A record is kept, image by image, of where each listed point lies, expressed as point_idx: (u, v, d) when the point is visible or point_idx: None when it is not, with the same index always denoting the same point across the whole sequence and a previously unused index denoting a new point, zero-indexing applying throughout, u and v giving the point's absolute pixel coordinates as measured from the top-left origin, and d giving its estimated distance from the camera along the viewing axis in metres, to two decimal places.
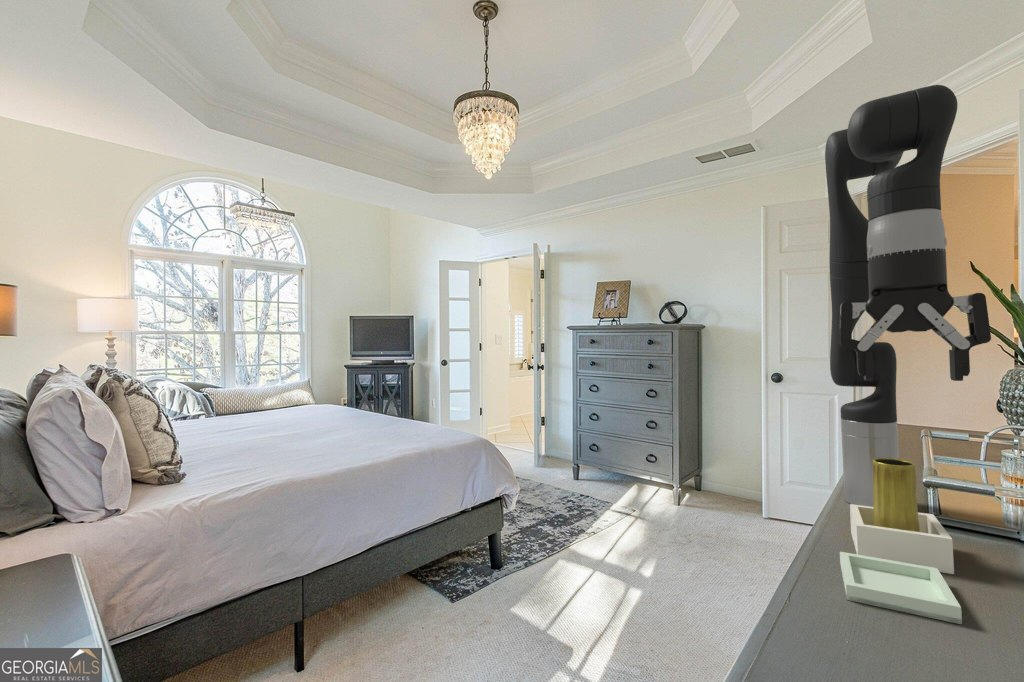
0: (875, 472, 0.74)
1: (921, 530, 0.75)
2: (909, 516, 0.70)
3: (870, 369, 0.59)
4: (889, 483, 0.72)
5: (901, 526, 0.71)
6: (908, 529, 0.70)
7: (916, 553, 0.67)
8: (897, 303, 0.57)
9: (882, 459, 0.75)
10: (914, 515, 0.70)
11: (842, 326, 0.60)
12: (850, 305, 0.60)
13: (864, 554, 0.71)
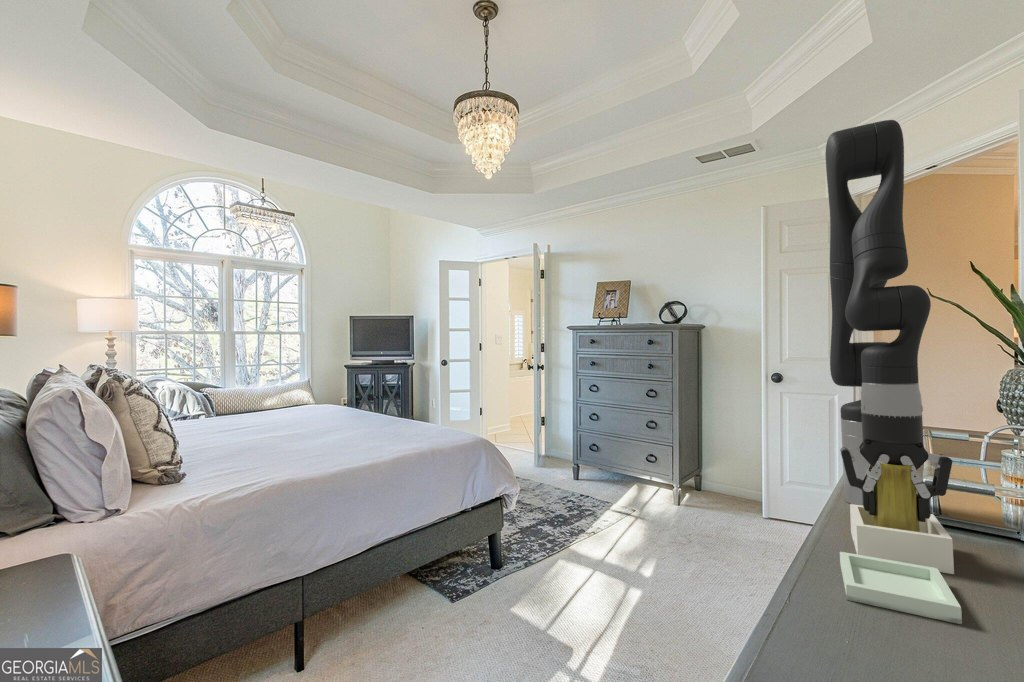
0: (875, 472, 0.74)
1: (921, 530, 0.75)
2: (909, 516, 0.70)
3: (873, 507, 0.74)
4: (889, 483, 0.72)
5: (901, 526, 0.71)
6: (908, 529, 0.70)
7: (916, 553, 0.67)
8: (883, 452, 0.73)
9: None
10: (914, 515, 0.70)
11: (847, 470, 0.75)
12: (848, 453, 0.75)
13: (864, 554, 0.71)
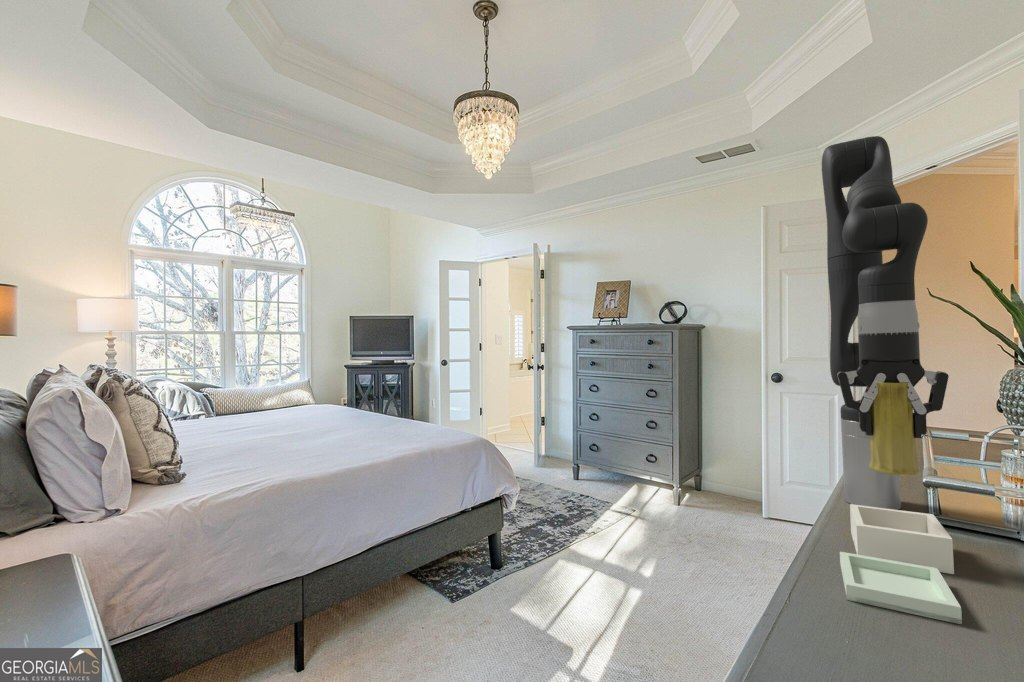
0: None
1: (921, 530, 0.75)
2: (905, 432, 0.71)
3: (869, 427, 0.74)
4: (885, 401, 0.72)
5: (898, 443, 0.71)
6: (904, 445, 0.71)
7: (916, 553, 0.67)
8: (879, 371, 0.73)
9: None
10: (910, 432, 0.71)
11: (843, 392, 0.76)
12: (845, 375, 0.75)
13: (864, 554, 0.71)
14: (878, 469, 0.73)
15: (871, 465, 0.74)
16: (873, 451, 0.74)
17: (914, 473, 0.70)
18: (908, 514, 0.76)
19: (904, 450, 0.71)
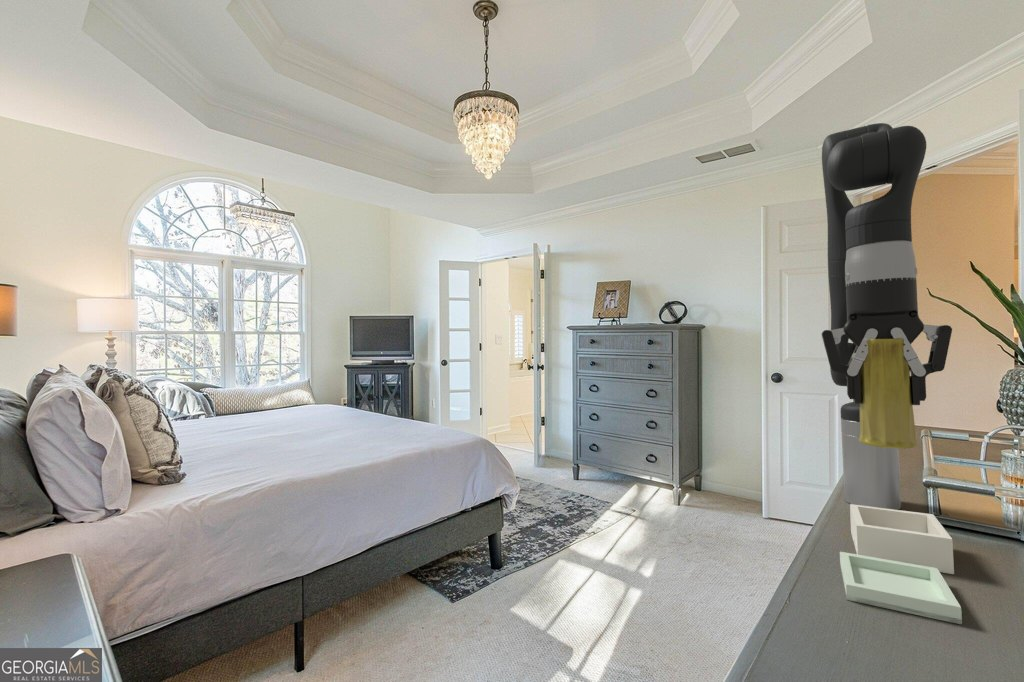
0: (862, 352, 0.63)
1: (921, 530, 0.75)
2: (901, 398, 0.59)
3: (859, 393, 0.63)
4: (877, 361, 0.61)
5: (892, 410, 0.60)
6: (900, 413, 0.59)
7: (916, 553, 0.67)
8: (870, 327, 0.62)
9: None
10: (907, 397, 0.59)
11: (828, 353, 0.64)
12: (830, 333, 0.64)
13: (864, 554, 0.71)
14: (869, 442, 0.61)
15: (861, 438, 0.63)
16: (863, 421, 0.62)
17: (911, 446, 0.59)
18: (908, 514, 0.76)
19: (899, 418, 0.59)
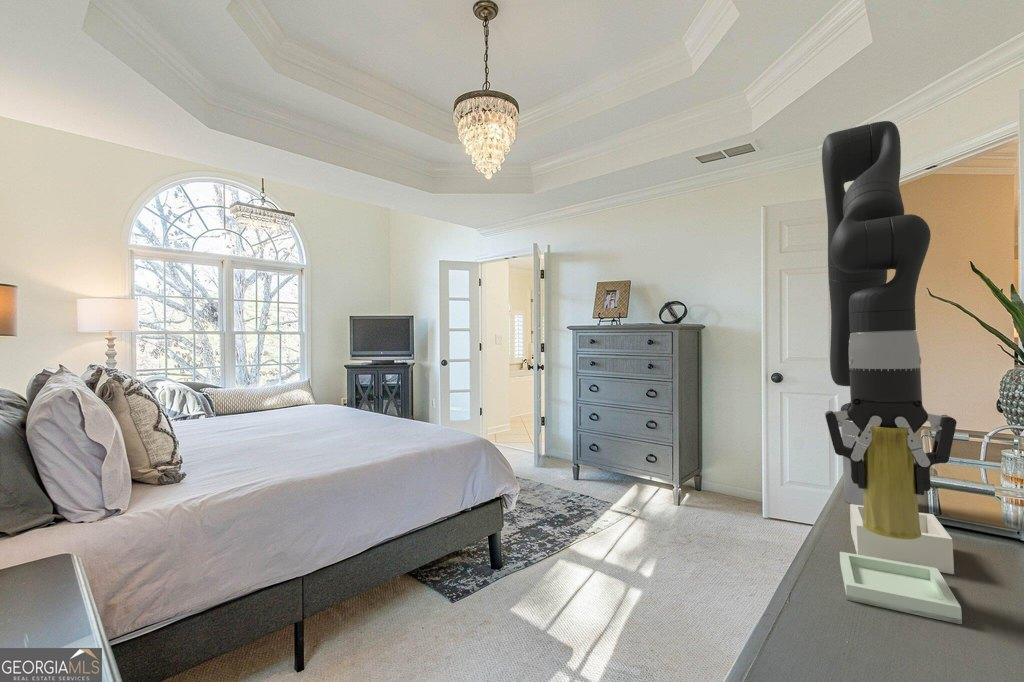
0: None
1: (921, 530, 0.75)
2: (905, 488, 0.59)
3: (863, 479, 0.62)
4: (881, 449, 0.60)
5: (896, 500, 0.59)
6: (904, 503, 0.59)
7: (916, 553, 0.67)
8: (874, 413, 0.62)
9: None
10: (911, 487, 0.59)
11: (832, 436, 0.64)
12: (833, 416, 0.64)
13: (864, 554, 0.71)
14: (873, 529, 0.61)
15: (865, 524, 0.63)
16: (867, 507, 0.62)
17: (916, 537, 0.59)
18: None
19: (904, 509, 0.59)
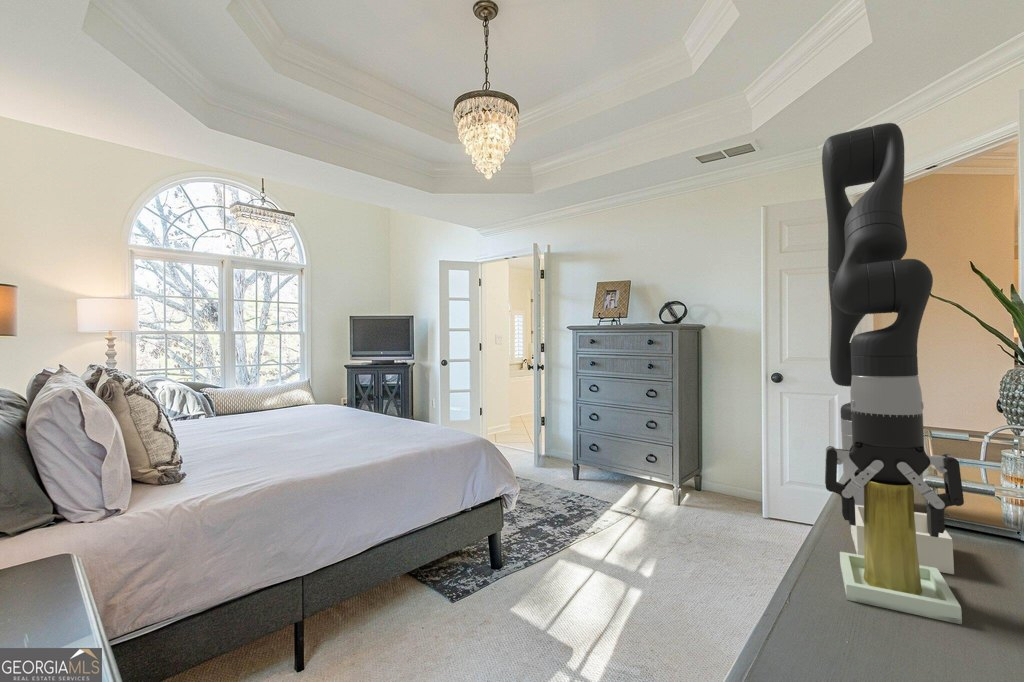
0: (866, 492, 0.62)
1: (921, 530, 0.75)
2: (906, 545, 0.59)
3: (853, 516, 0.63)
4: (882, 506, 0.60)
5: (897, 558, 0.59)
6: (905, 561, 0.59)
7: None
8: (878, 457, 0.61)
9: None
10: (912, 544, 0.59)
11: (827, 472, 0.64)
12: (835, 453, 0.64)
13: None
14: (874, 585, 0.61)
15: (866, 578, 0.63)
16: (868, 562, 0.62)
17: (917, 594, 0.59)
18: None
19: (905, 566, 0.59)
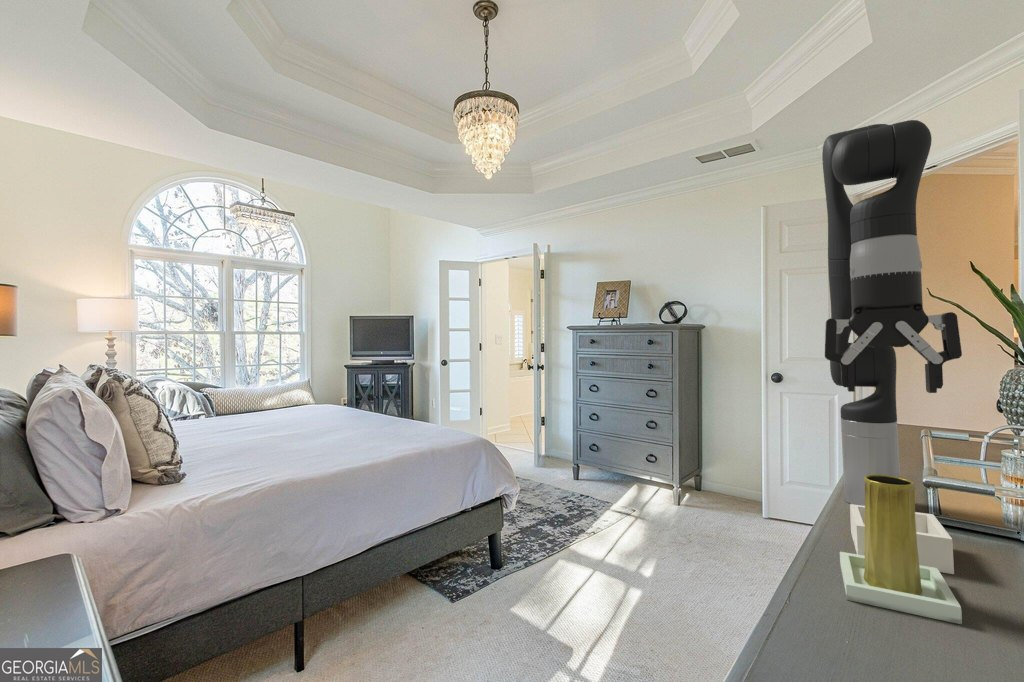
0: (867, 492, 0.62)
1: (921, 530, 0.75)
2: (907, 545, 0.59)
3: (852, 381, 0.64)
4: (883, 505, 0.60)
5: (897, 557, 0.59)
6: (906, 561, 0.59)
7: None
8: (877, 320, 0.62)
9: (875, 476, 0.64)
10: (913, 544, 0.59)
11: (827, 341, 0.65)
12: (834, 322, 0.65)
13: (864, 554, 0.71)
14: (874, 585, 0.61)
15: (866, 578, 0.63)
16: (868, 562, 0.62)
17: (917, 594, 0.59)
18: None
19: (905, 566, 0.59)
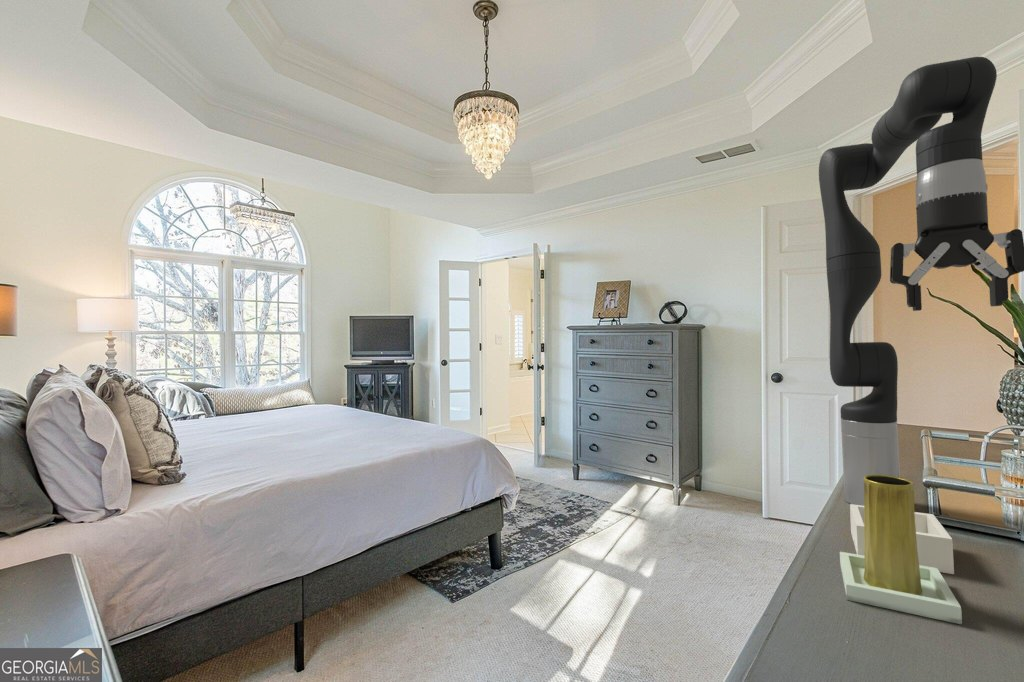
0: (866, 492, 0.62)
1: (921, 530, 0.75)
2: (906, 545, 0.59)
3: (919, 300, 0.68)
4: (883, 506, 0.60)
5: (897, 558, 0.59)
6: (905, 561, 0.59)
7: None
8: (944, 242, 0.67)
9: (874, 476, 0.64)
10: (912, 544, 0.59)
11: (894, 264, 0.70)
12: (901, 245, 0.69)
13: None
14: (874, 585, 0.61)
15: (866, 578, 0.63)
16: (868, 562, 0.62)
17: (917, 594, 0.59)
18: None
19: (905, 566, 0.59)
